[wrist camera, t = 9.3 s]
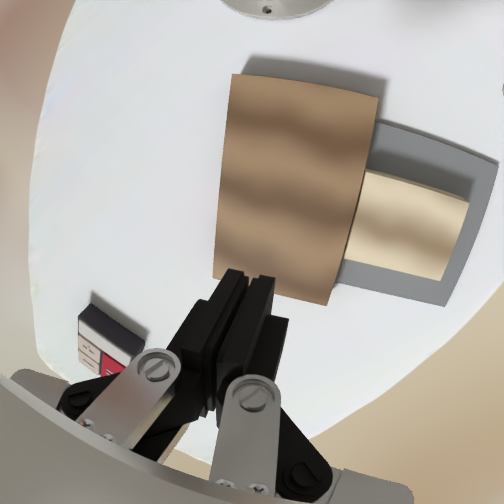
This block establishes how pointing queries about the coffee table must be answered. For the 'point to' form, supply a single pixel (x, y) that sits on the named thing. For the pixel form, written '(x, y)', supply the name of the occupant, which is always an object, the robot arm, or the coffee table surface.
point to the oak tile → (404, 225)
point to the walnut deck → (290, 181)
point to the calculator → (105, 342)
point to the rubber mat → (435, 175)
